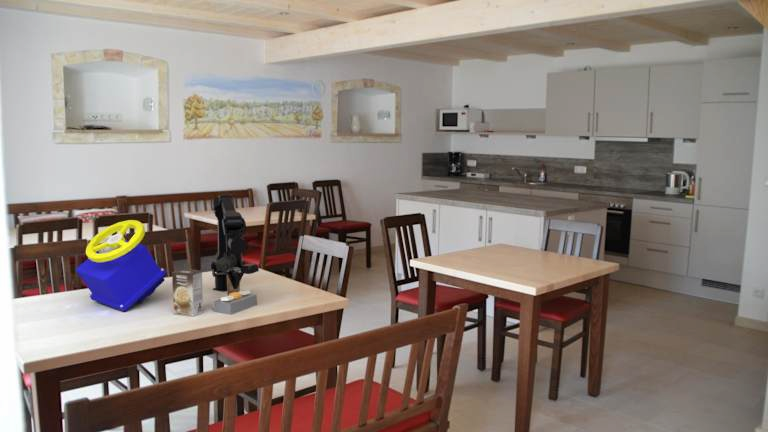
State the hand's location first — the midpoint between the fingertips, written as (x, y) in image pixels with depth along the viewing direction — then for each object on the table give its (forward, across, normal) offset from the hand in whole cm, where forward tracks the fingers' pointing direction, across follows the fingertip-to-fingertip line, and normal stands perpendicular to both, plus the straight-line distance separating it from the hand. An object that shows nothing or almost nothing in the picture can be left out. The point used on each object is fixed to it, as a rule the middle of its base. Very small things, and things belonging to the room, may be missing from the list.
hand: (235, 288), depth 241 cm
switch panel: (+8, 0, 0) cm, 8 cm away
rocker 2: (+2, 0, +5) cm, 5 cm away
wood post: (+8, -11, +12) cm, 18 cm away
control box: (+8, -40, -17) cm, 44 cm away
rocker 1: (+2, 0, -5) cm, 5 cm away
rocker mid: (+2, 0, 0) cm, 2 cm away
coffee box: (+8, -11, -14) cm, 19 cm away
